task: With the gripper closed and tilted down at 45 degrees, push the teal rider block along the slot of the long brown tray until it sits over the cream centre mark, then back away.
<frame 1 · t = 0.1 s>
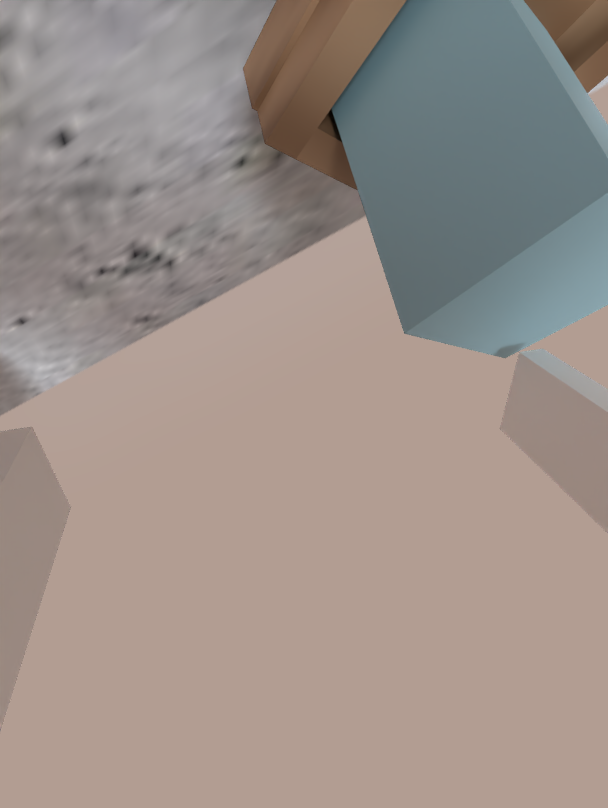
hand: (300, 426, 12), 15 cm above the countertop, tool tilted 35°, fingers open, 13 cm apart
rider: (435, 64, 14), point 5 cm above the countertop, touching long brown tray
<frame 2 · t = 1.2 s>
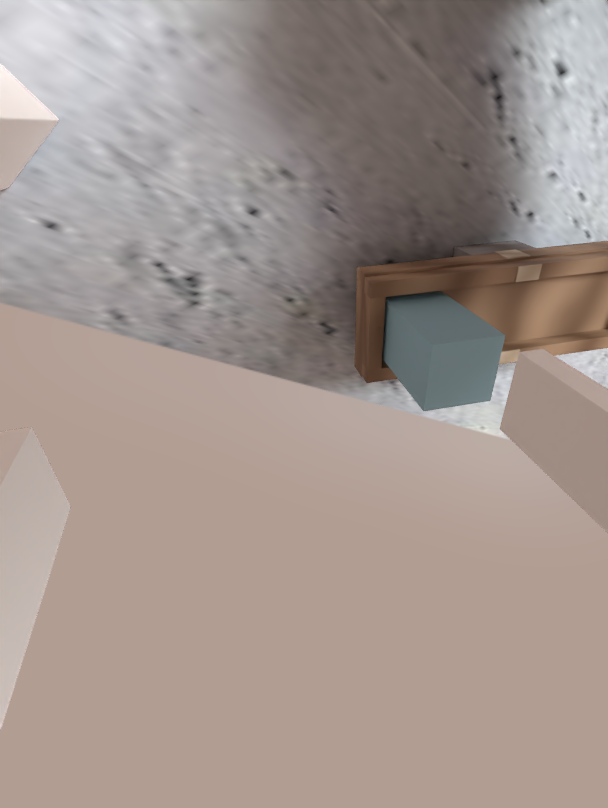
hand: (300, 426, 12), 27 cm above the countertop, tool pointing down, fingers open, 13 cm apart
rider: (408, 323, 36), point 5 cm above the countertop, touching long brown tray
long brown tray: (476, 292, 41), on the countertop
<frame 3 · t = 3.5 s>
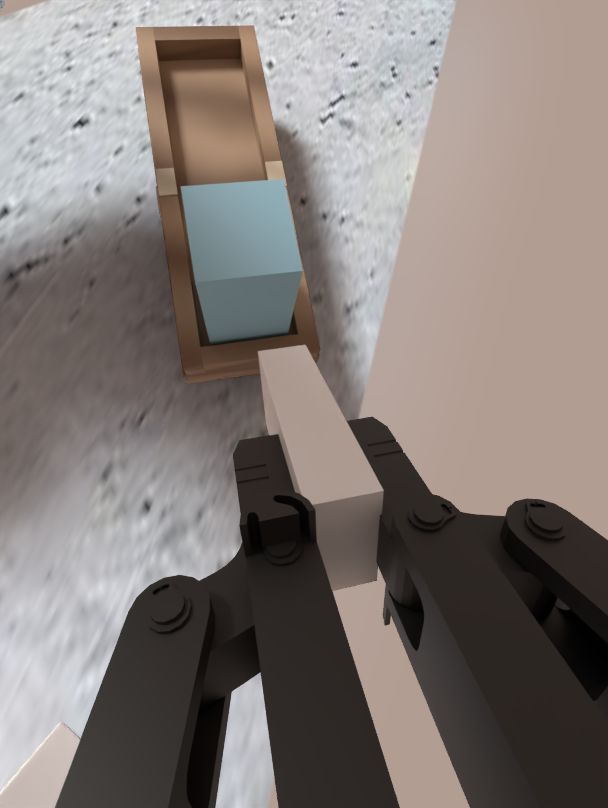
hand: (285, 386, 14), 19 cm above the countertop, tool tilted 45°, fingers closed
rider: (243, 309, 29), point 5 cm above the countertop, touching long brown tray
milk: (60, 795, 26), on the countertop
long brown tray: (226, 235, 36), on the countertop
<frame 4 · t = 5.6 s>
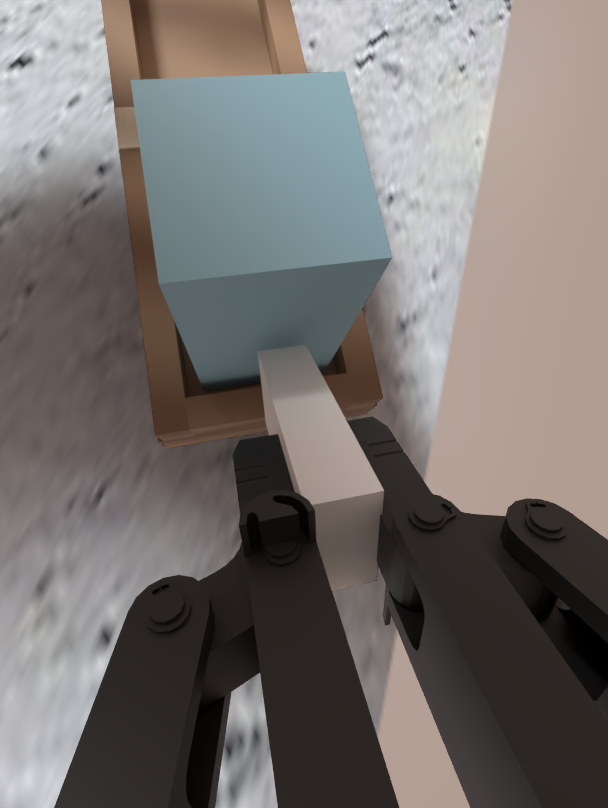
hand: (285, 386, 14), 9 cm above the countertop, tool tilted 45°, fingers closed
rider: (255, 326, 18), point 5 cm above the countertop, touching gripper
long brown tray: (228, 219, 25), on the countertop
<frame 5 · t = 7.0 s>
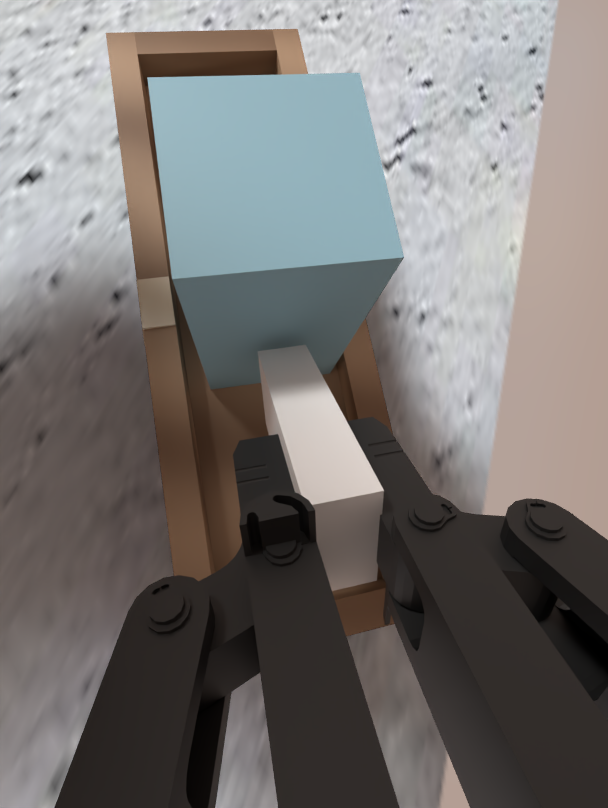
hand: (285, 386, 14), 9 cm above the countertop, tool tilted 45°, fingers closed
rider: (262, 325, 18), point 5 cm above the countertop, touching long brown tray, gripper
long brown tray: (251, 348, 23), on the countertop
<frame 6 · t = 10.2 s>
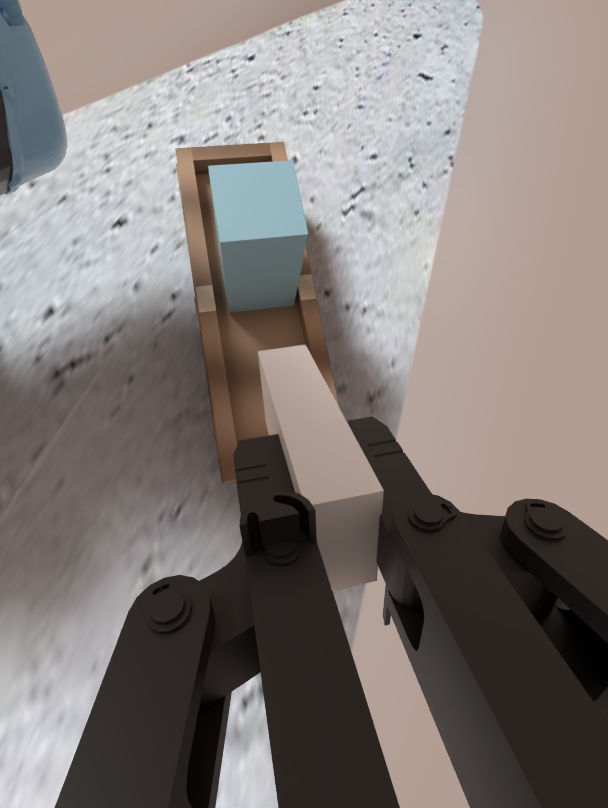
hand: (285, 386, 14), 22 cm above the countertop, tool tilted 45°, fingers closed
rider: (256, 279, 33), point 5 cm above the countertop, touching long brown tray
long brown tray: (256, 328, 38), on the countertop
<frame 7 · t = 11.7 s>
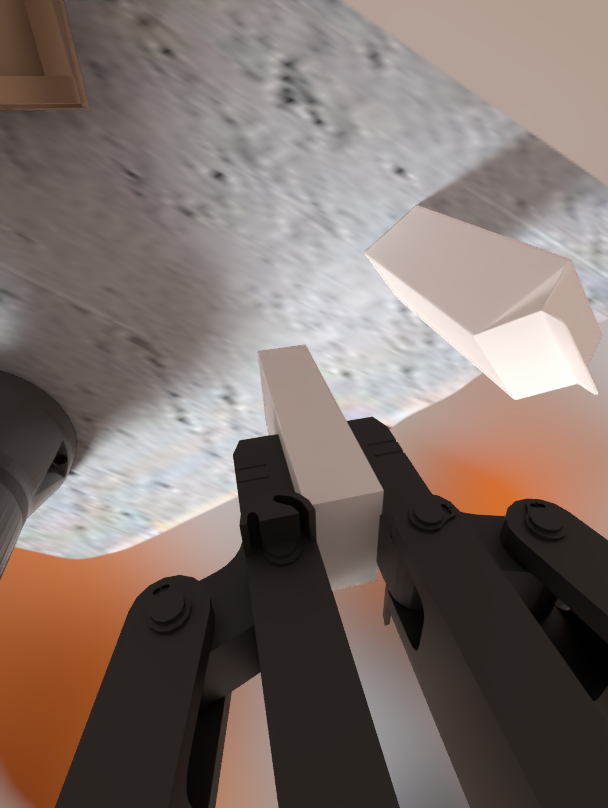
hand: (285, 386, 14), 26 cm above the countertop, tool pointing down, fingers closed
milk: (406, 253, 39), on the countertop
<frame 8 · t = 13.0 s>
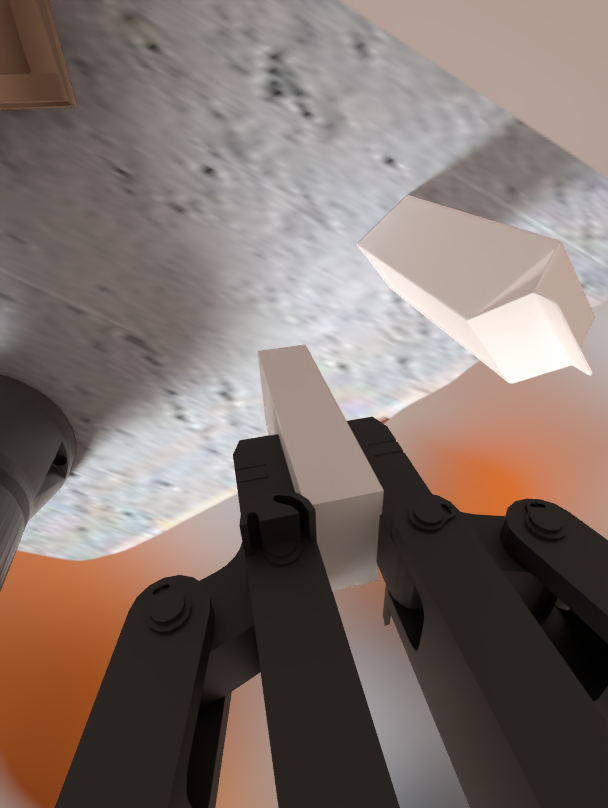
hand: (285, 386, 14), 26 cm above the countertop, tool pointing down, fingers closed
milk: (398, 244, 40), on the countertop
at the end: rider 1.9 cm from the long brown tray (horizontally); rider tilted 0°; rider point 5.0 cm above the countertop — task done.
